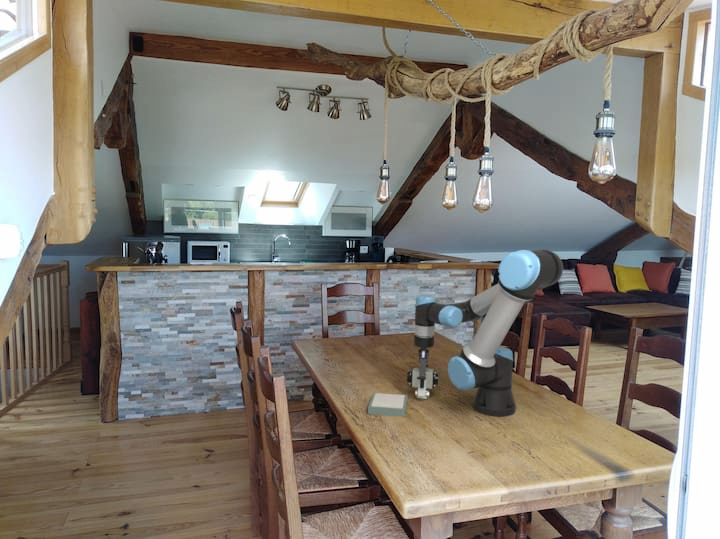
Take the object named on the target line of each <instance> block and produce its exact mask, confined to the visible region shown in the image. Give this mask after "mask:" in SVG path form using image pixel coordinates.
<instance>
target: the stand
mask: <svg viewBox="0 0 720 539" xmlns="http://www.w3.org/2000/svg"><path fill="white" fill-rule="evenodd" d="M408 397H409V396H408V394H399V393H398V394H396V393H381V392H380V393H379V392H373V393H372V395H371V398H370V401H369V404H368V407H367V414H368V415H376V416H390V417H404V418H405V417H406V413H407V406H408Z"/></svg>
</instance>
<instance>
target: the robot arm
mask: <svg viewBox="0 0 720 539" xmlns="http://www.w3.org/2000/svg"><path fill="white" fill-rule="evenodd" d="M497 269H498V270H497V271H498V274H499V275H498V279H499V280H498V283H497V284H495V285H493V286H491V287H489V288H487V289H485V290H483V291H482V292H480V293H478V294H477V295H475V296H473V297H472V298H470V299H467V300H466V301H463V302H454V303H448V304H446V303H445V304H443V303H439V302H437V300H436V299H437V297H436V296H434V295H432V294H419V295H417V296H416V298H415V305H414V309H415V310H414V315H415V316H414V326H412V329H414V338H413V345H414V347H417V348H419V349H418V353H417V356H418V363H419V367H418V368H419V377H417V379H419V383H418V389H417V390H418V396H425V392H426V369H428V368H429V364H427V363H428V362H429V361H428V360H429V356H430V353H429V352H430V350H429V349H428V348H433V347H434V346H435V345H434V344H435V333H436V332H435V329H436V325H440V326H443V327H445V328H457V327H458V326H459V325H460V324H462V323H469V322H476V321H480V320H482V319H483V320H482V322H481V324H480V325H479V327H478V329H477V331H476V333H475V334H474V336H473V338H472V340H471V342H469V343H466V344H464V345H463V347H462V349H461V351H460V353H459V354H458V355H456V356H453V357H452V358H450V359H449V360H448V363H447V370H446V371H447V374H448V378H449V380H450V382H451V383H452V385H453V386H454V387H455V388H457V389H458V390H460V391H471V390H474V389H476V392H475V394H474V396H473V399H472V409H473V410H474V411H476V412H478V413H481V414H483V415H487V416H493V417H508V416H512V415H514V414H515V413H516V406H517V405H516V402H515V398H514V394H513V391H512V383H513V382H512V381H513V364H514V354H513V351H512V350H511V349H510V348H508V347H505V346H501V344H502V343H503V341H504V340H505V338H506V336H507V334H508V332H509V330H510V329H511V326H512V325H513V323H514V322H515V320H516V318H517V317H518V315H519V314H520V311H522V308H523V306H524V304H525V303H526V302H530V301H532V300H533V299H534V297H535V295H536V294H537V292H539V291H541V290H543V289H545V288H547V287H549V286H552V285H554V284H556V283H557V282H559V280H560V279H561V277H562V276H563V272H564V265H563V261H562V259H561V258H560V257H559V255H558V254H556V253H555V252H553V251H551V250H548V249H536V250H535V249H533V250H532V249H531V250H528V249H527V250H526V249H522V250H521V249H520V250H516V251H512V252H510V253H508V254H507V255H505V256H504V257H503V258H502V259H501V261H500V263H499V265H498V268H497ZM484 315H485V316H484ZM421 375H424V376H421Z"/></svg>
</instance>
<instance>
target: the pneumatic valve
mask: <svg viewBox="0 0 720 539" xmlns="http://www.w3.org/2000/svg"><path fill="white" fill-rule="evenodd" d="M419 368H420V367H411V370H410V371H409V370H408V371H407V373H406V374H407V375H406V383H408V384H409V385H410V387H411V388H416V389H415V391H414V392H415V394H414V395H415V397H416V399H419V400H427V399H428V398H430V390H428V389H431V390H432V389H433V390H434V389H435V387H436V386H438V385H439V380H440V379H439V376H440V373H437V372H436V369H434V368H433V369H432V368H427V369H426V392H425V396H418V383H419V379H417V377H419ZM421 376H424V375H421Z"/></svg>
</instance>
